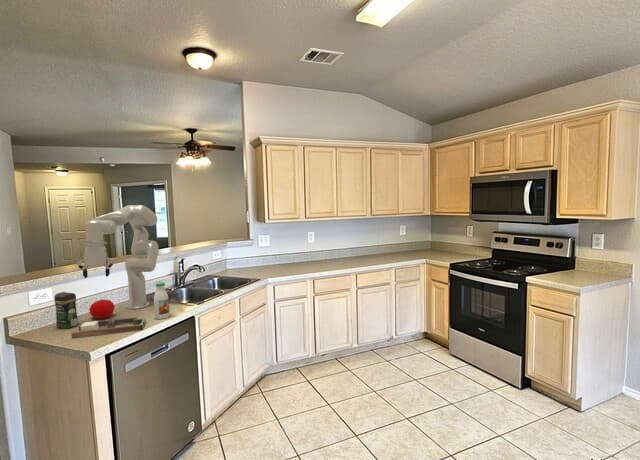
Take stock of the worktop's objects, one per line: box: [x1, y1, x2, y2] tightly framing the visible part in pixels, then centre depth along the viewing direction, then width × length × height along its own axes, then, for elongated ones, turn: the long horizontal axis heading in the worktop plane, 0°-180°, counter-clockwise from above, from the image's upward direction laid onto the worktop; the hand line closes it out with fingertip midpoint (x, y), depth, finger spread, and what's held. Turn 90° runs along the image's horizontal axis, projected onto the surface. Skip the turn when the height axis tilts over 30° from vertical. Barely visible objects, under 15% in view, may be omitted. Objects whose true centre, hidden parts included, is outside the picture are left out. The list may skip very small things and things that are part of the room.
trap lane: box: [71, 316, 147, 339], centre depth 181 cm, size 15×31×2 cm, turn 108°
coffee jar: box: [53, 291, 79, 329], centre depth 186 cm, size 10×8×19 cm
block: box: [80, 320, 100, 332], centre depth 176 cm, size 6×6×5 cm
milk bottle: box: [153, 281, 170, 320], centre depth 198 cm, size 8×8×20 cm
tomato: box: [88, 299, 115, 320], centre depth 200 cm, size 11×12×10 cm
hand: (96, 276), depth 183 cm, fingers open, 9 cm apart
